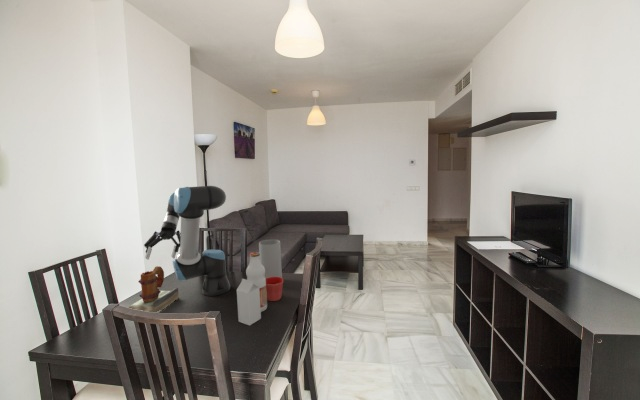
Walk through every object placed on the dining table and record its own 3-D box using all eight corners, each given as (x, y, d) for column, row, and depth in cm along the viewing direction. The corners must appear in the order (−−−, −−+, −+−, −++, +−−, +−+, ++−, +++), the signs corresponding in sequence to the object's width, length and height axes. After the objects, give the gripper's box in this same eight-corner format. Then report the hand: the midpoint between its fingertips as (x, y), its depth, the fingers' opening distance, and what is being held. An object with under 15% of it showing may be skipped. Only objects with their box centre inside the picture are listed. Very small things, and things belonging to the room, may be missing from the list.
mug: (151, 304, 141) (148, 275, 139) (136, 304, 142) (133, 274, 140) (171, 292, 155) (168, 264, 153) (157, 291, 156) (155, 264, 155)
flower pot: (288, 295, 157) (287, 277, 156) (276, 304, 147) (276, 285, 146) (271, 292, 161) (270, 275, 160) (259, 300, 151) (258, 282, 150)
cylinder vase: (256, 285, 171) (254, 244, 169) (268, 277, 183) (266, 238, 180) (275, 288, 167) (273, 245, 164) (285, 280, 178) (284, 240, 175)
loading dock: (178, 298, 157) (177, 287, 156) (156, 315, 139) (155, 303, 139) (154, 297, 159) (153, 287, 158) (129, 314, 141) (128, 302, 140)
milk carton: (249, 326, 127) (247, 284, 125) (238, 321, 131) (235, 281, 129) (261, 318, 133) (259, 278, 131) (250, 314, 137) (247, 276, 135)
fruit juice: (270, 308, 142) (268, 253, 139) (253, 315, 136) (249, 257, 133) (261, 302, 149) (258, 249, 146) (244, 308, 144) (241, 253, 140)
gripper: (193, 227, 174) (186, 259, 160) (150, 229, 172) (139, 262, 159) (189, 220, 168) (181, 253, 154) (144, 222, 166) (132, 255, 153)
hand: (159, 258), depth 157 cm, fingers open, 13 cm apart
